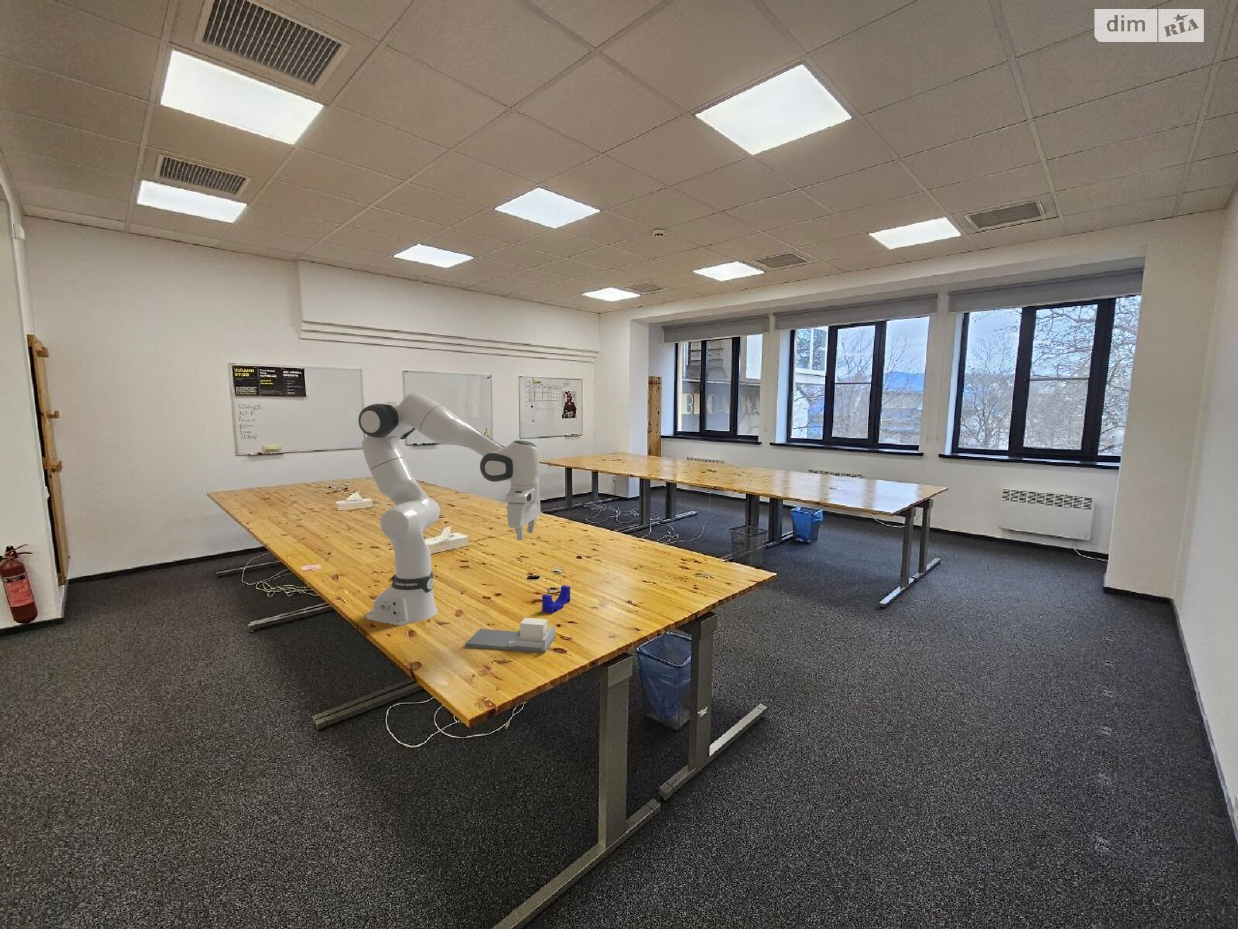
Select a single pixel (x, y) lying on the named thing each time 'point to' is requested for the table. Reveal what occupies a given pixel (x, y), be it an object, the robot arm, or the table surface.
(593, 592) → the table surface
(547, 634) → the mounting plate
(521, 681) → the table surface
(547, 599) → the cable clip
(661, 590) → the table surface
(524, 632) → the panel block
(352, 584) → the table surface
